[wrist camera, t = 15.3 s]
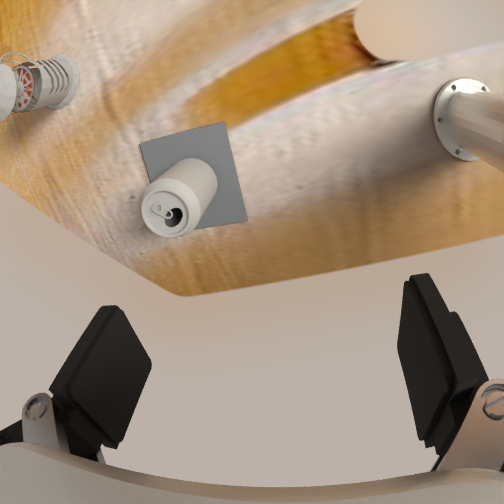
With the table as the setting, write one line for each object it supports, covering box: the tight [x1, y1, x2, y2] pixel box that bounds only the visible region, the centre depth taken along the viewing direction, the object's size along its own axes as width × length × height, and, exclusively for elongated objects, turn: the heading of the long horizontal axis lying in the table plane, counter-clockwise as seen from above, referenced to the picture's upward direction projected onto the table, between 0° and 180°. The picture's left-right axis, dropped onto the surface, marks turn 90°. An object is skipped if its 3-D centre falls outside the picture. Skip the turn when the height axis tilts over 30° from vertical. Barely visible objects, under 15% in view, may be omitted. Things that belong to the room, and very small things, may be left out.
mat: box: [140, 122, 247, 229], centre depth 46 cm, size 13×15×1 cm
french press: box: [0, 52, 80, 121], centre depth 28 cm, size 10×12×25 cm
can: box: [141, 158, 218, 238], centre depth 40 cm, size 8×8×12 cm
